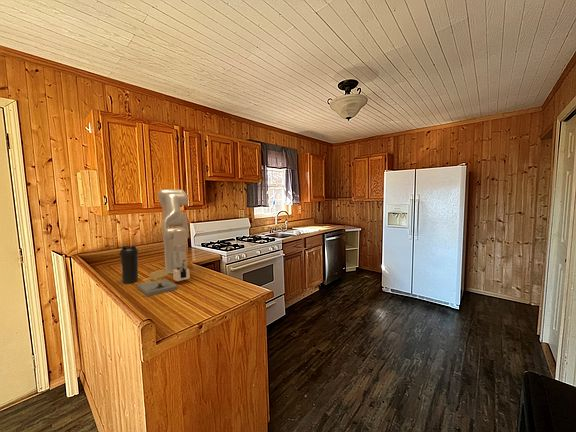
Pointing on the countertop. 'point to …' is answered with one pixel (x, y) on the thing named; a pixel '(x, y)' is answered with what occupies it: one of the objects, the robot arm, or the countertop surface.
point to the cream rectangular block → (178, 274)
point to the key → (158, 276)
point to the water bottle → (129, 264)
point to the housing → (156, 287)
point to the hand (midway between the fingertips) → (181, 276)
